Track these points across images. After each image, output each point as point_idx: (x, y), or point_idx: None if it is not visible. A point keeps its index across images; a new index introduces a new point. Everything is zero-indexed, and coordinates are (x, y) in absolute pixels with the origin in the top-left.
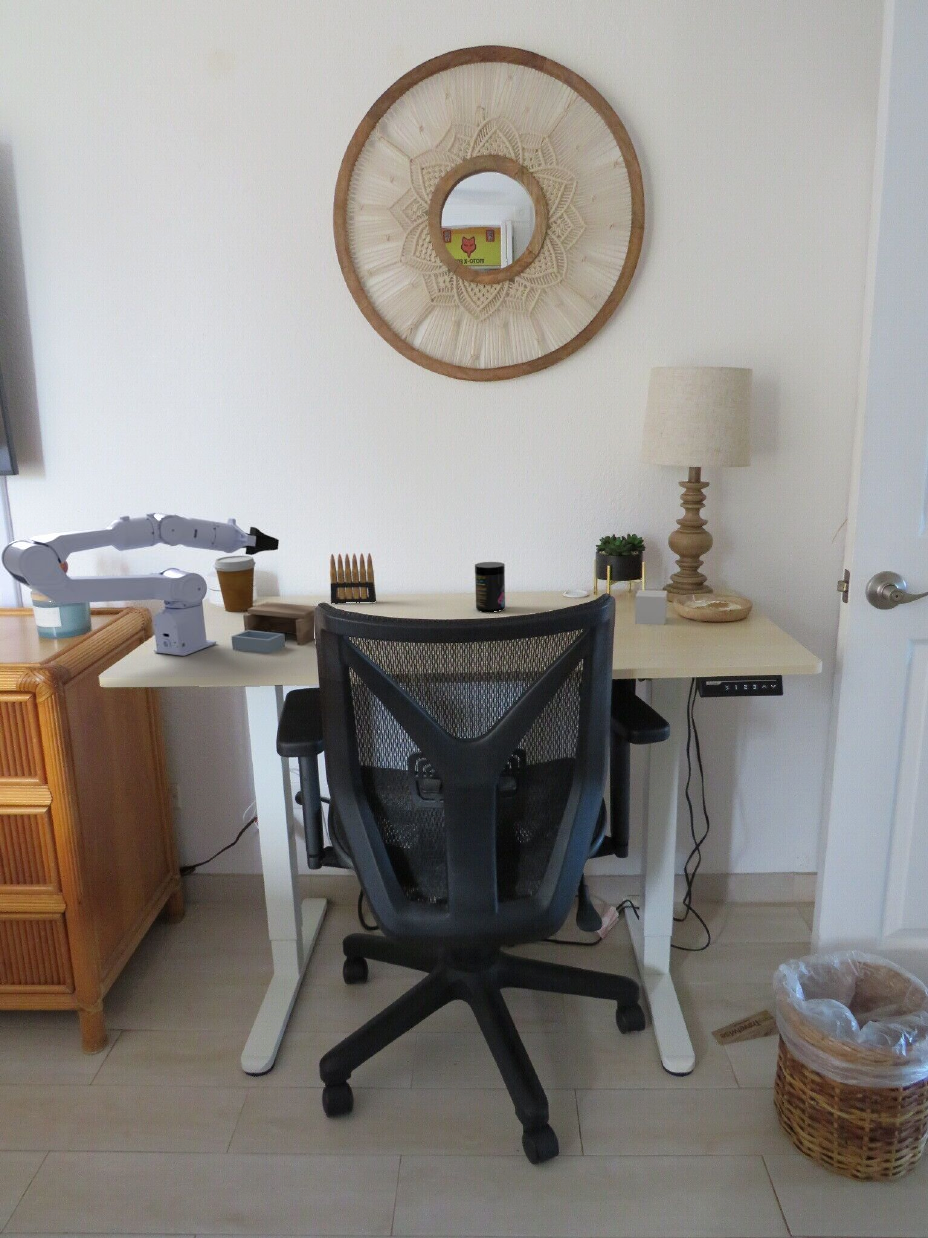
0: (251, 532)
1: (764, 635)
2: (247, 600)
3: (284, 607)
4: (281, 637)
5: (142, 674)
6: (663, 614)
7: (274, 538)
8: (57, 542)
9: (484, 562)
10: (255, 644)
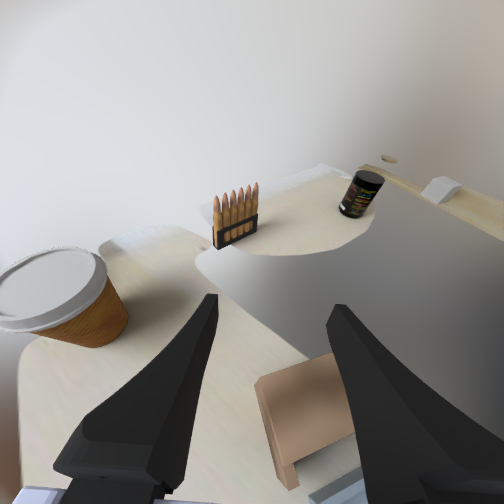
0: (470, 488)
1: (489, 199)
2: (122, 316)
3: (329, 389)
4: None
5: None
6: (452, 195)
7: (358, 320)
8: None
9: (357, 173)
10: None
